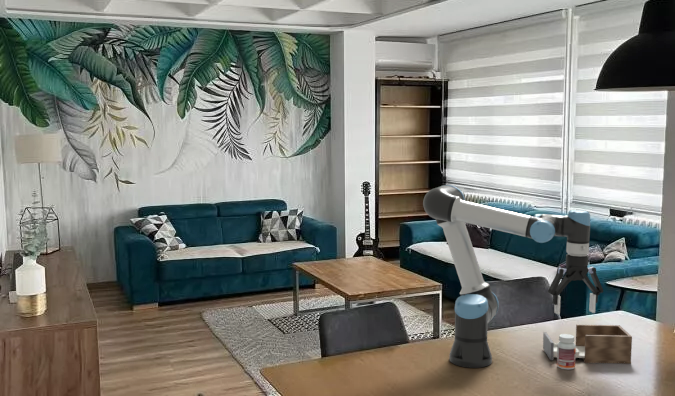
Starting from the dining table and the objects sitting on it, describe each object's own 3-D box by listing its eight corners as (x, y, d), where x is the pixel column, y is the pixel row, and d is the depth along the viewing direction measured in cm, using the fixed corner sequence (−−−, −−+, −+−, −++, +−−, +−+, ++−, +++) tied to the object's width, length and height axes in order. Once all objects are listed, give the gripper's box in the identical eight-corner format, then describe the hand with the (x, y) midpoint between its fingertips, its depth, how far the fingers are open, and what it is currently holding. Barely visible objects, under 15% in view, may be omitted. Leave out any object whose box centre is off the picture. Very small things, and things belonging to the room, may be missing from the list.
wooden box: (585, 362, 258) (586, 335, 256) (575, 350, 271) (576, 324, 270) (630, 363, 256) (632, 336, 255) (618, 351, 270) (619, 325, 269)
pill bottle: (578, 369, 251) (579, 338, 249) (561, 370, 250) (562, 339, 249) (570, 363, 257) (571, 333, 255) (553, 364, 256) (554, 333, 255)
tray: (550, 360, 259) (550, 342, 258) (542, 348, 272) (543, 332, 271) (595, 361, 258) (595, 343, 257) (585, 349, 271) (586, 332, 270)
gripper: (549, 257, 247) (547, 317, 249) (615, 255, 251) (612, 314, 254) (539, 253, 254) (537, 311, 257) (603, 251, 259) (600, 308, 261)
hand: (574, 312), depth 255 cm, fingers open, 13 cm apart
